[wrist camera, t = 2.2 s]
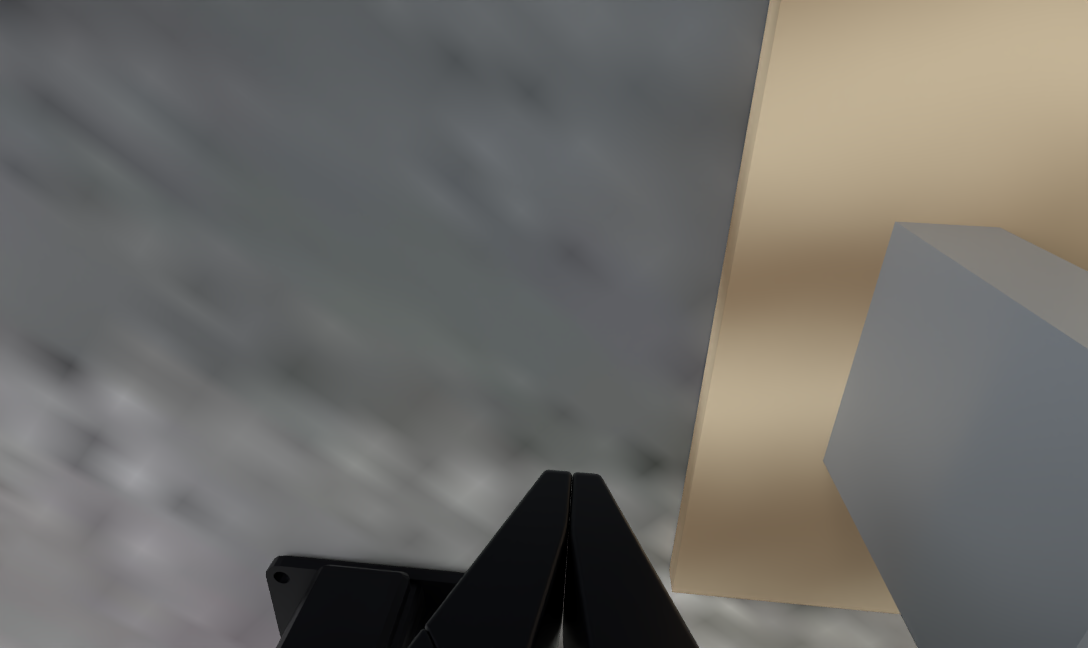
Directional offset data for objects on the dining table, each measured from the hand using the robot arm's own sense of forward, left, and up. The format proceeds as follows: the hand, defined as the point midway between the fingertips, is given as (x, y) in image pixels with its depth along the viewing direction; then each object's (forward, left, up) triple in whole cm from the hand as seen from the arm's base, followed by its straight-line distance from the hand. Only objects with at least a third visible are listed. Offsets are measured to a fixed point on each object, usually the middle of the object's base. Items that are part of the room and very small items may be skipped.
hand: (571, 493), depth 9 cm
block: (0, -7, -5) cm, 9 cm away
